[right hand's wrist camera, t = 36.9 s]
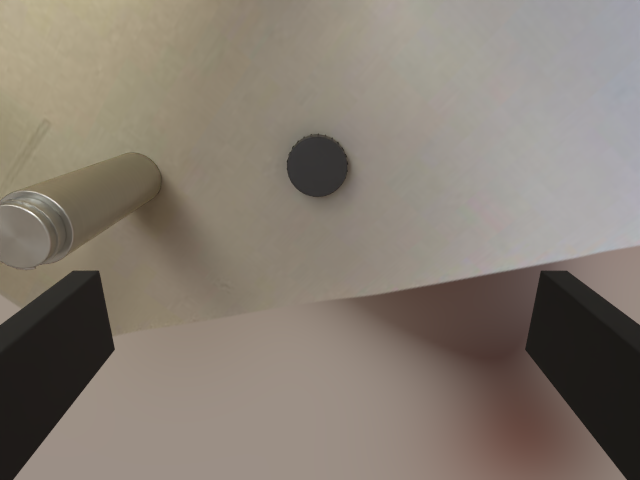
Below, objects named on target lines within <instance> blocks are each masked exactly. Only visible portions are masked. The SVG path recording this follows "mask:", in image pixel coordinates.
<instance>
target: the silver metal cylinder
mask: <svg viewBox="0 0 640 480" xmlns="http://www.w3.org/2000/svg"><path fill="white" fill-rule="evenodd" d="M160 187H161V175H160V172H159V170H158V168H157V166H156V165H155V164H154V162H153V161H152V160H150V159H149V158H148V157H146V156H144V155H142V154H139V153H126V154H123V155H120V156H117V157H114V158H111V159H108V160H105V161H102V162H100V163H97V164H94V165H91V166H88V167H85V168H82V169H79V170H76V171H73V172H70V173H67V174H65V175H62V176H59V177H56V178H53V179H50V180H47V181H44V182H41V183H38V184H35V185H32V186H30V187H27V188H24V189H21V190H18V191H15V192H12V193H10V194H8V195H6V196H5V197H4V198H2V199H1V201H0V261H1V262H2V263H4V264H6V265H7V266H11V267H14V268H16V269H23V270H30V269H35V268H36V266H38V265H42V264H49V263H54V262H57V261H59V260H61V259H62V258H64V257H65V256H67V255H68V254H70V253H71V252H73V251H74V250H76V249H77V248H79V247H80V246H82V245H83V244H85V243H86V242H88V241H89V240H91V239H92V238H94V237H95V236H97V235H98V234H100V233H101V232H103V231H104V230H106V229H107V228H109V227H110V226H112V225H113V224H115V223H116V222H118V221H119V220H121V219H122V218H124V217H125V216H127V215H128V214H130V213H131V212H133V211H134V210H136V209H137V208H139V207H140V206H142V205H143V204H145V203H146V202H148V201H149V200H151V199H152V198H154V197H155V196H156V195H157V193H158V192H159V190H160Z"/></svg>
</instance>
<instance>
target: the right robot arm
mask: <svg viewBox="0 0 640 480" xmlns="http://www.w3.org/2000/svg"><path fill="white" fill-rule="evenodd" d="M114 350H115V348H114V343H113V338H112V333H111V328H110V323H109V318H108V313H107V308H106V303H105V298H104V293H103V288H102V283H101V278H100V273H99V271H72V272H71V273H70V274H68V275H67V276H66V277H64V278H63V279H62V280H60V281H59V282H57V283H56V284H55V285H53V286H52V287H51V288H49V289H48V290H47V291H45V292H44V293H43V294H41V295H40V296H39V297H37V298H36V299H35V300H33V301H32V302H31V303H29V304H28V305H27V306H25V307H24V308H23V309H21V310H20V311H19V312H17V313H16V314H15V315H13V316H12V317H11V318H9V319H8V320H7V321H5V322H4V323H3V324H1V325H0V480H13V479H14V478H15V477H16V475H17V474H18V473H19V471H20V470H21V469H22V467H23V466H24V465H25V464H26V462H27V461H28V460H29V459H30V457H31V456H32V455H33V454H34V452H35V451H36V450H37V448H38V447H39V446H40V445H41V443H42V442H43V441H44V439H45V438H46V437H47V436H48V434H49V433H50V432H51V430H52V429H53V428H54V427H55V425H56V424H57V423H58V422H59V420H60V419H61V418H62V416H63V415H64V414H65V413H66V411H67V410H68V409H69V407H70V406H71V405H72V404H73V402H74V401H75V400H76V398H77V397H78V396H79V395H80V393H81V392H82V391H83V390H84V388H85V387H86V386H87V384H88V383H89V382H90V381H91V379H92V378H93V377H94V375H95V374H96V373H97V372H98V370H99V369H100V368H101V366H102V365H103V364H104V363H105V361H106V360H107V359H108V358H109V356H110V355H111V354H112V352H113V351H114ZM525 350H526V351H527V352H528V354H529V355H530V356H531V358H532V359H533V360H534V361H535V363H536V364H537V365H538V366H539V368H540V369H541V370H542V372H543V373H544V374H545V375H546V377H547V378H548V379H549V381H550V382H551V383H552V384H553V386H554V387H555V388H556V389H557V391H558V392H559V393H560V395H561V396H562V397H563V398H564V400H565V401H566V402H567V404H568V405H569V406H570V407H571V409H572V410H573V411H574V413H575V414H576V415H577V416H578V418H579V419H580V420H581V421H582V423H583V424H584V425H585V427H586V428H587V429H588V430H589V432H590V433H591V434H592V436H593V437H594V438H595V439H596V441H597V442H598V443H599V444H600V446H601V447H602V448H603V450H604V451H605V452H606V454H607V455H608V456H609V457H610V459H611V460H612V461H613V462H614V464H615V465H616V466H617V468H618V469H619V470H620V471H621V473H622V474H623V475H624V476H625V478H626V479H627V480H640V325H639V324H638V323H636V322H635V321H634V320H632V319H631V318H629V317H628V316H627V315H625V314H624V313H623V312H621V311H620V310H619V309H617V308H616V307H615V306H613V305H612V304H611V303H609V302H608V301H607V300H605V299H604V298H603V297H601V296H600V295H599V294H597V293H596V292H595V291H593V290H592V289H590V288H589V287H588V286H587V285H585V284H584V283H583V282H581V281H580V280H578V279H577V278H576V277H574V276H573V275H572V274H570V273H569V272H568V271H541V273H540V278H539V283H538V288H537V293H536V298H535V303H534V308H533V313H532V318H531V323H530V328H529V333H528V339H527V343H526V348H525Z"/></svg>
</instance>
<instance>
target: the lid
mask: <svg viewBox="0 0 640 480" xmlns="http://www.w3.org/2000/svg"><path fill="white" fill-rule="evenodd" d="M347 165H348V162H347V160H346V154H344V150H343V148H341V146H340V145H339V143H338V142H336V141H335V140H333V138H330V137H328V136H326V135H319V134H318V135H312V134H311V135H310V136H307V137H304V138H303V139H301V140H300V141H299V140H298V142H297V143H296V145H295V146H293V147H292V151H291V152H290V153H289V158H288V160H287V170H288V175H289V178H290V180H291V182H292V184H293V185H294V186H295V187H296V188H297V189H298V190H299V191H300V192H302V193H304V194H306V195H309V196H314V197H321V196H326V195H329V194H331V193H333V192H334V191H336V190H337V189H338V188H339V187H340V186H341V185H342V183H343V181H344V179H345V177H346V174H347Z"/></svg>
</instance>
